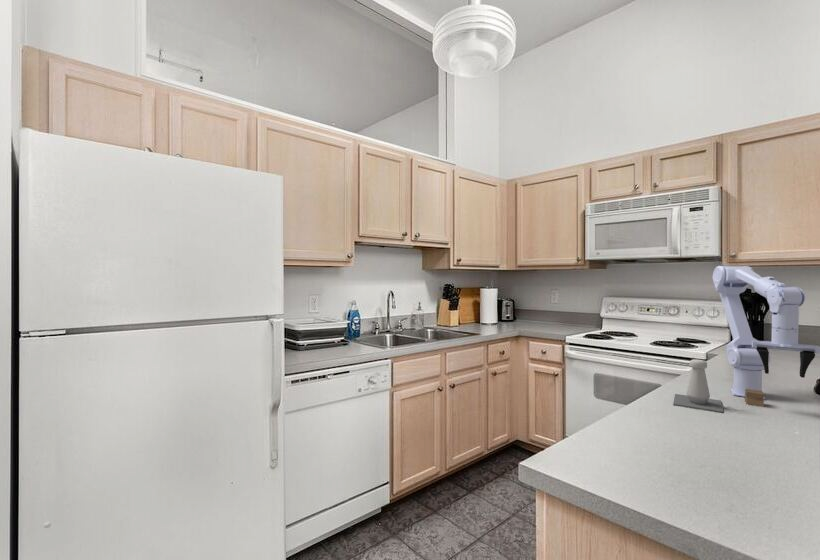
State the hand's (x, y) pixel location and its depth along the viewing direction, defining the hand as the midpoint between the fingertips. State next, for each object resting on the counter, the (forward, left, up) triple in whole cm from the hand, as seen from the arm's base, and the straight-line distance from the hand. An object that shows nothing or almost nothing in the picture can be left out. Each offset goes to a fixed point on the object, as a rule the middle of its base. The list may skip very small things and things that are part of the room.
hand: (784, 374), depth 119 cm
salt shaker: (+7, -20, -10) cm, 24 cm away
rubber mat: (+7, -21, -10) cm, 24 cm away
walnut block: (-3, -6, -10) cm, 13 cm away
